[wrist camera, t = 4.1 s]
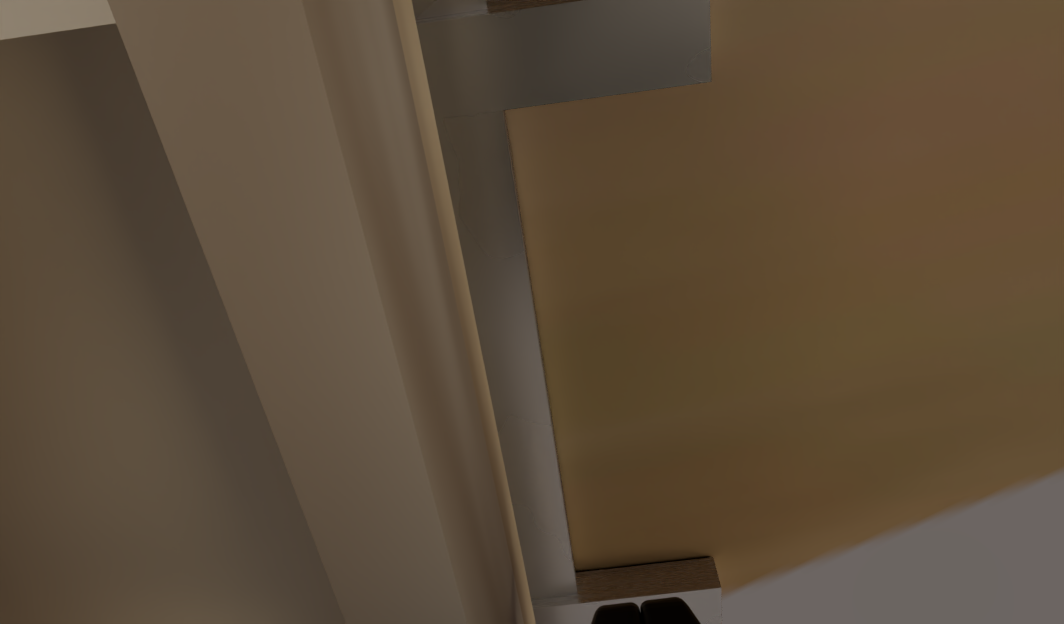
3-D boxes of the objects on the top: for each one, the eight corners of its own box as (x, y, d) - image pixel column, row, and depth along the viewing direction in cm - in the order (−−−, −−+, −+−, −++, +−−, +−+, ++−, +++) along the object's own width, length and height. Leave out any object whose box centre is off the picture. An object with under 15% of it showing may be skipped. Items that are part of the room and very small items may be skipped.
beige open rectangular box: (385, -251, 7) (244, -224, 3) (569, 734, 15) (595, 1107, 11) (-782, -69, 8) (-2204, 156, 4) (-19, 796, 16) (-202, 1175, 12)
